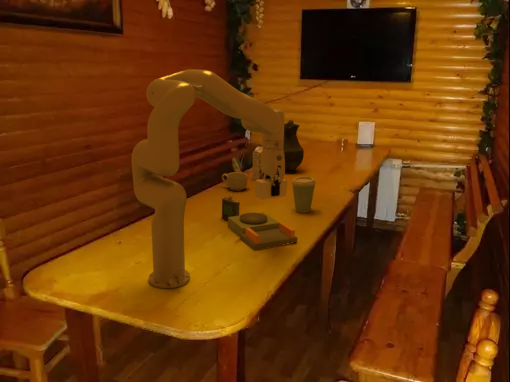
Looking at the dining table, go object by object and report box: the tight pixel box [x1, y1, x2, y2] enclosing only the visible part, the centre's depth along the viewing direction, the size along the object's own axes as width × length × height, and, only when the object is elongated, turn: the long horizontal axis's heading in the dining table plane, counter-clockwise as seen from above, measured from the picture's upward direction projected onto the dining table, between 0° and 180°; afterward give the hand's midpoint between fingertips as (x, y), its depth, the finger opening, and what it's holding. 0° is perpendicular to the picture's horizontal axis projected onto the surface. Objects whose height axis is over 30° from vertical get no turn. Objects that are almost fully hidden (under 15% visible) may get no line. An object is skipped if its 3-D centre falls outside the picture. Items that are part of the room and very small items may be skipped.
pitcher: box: [283, 119, 305, 174], centre depth 282 cm, size 17×21×30 cm
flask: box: [221, 195, 241, 222], centre depth 198 cm, size 9×3×11 cm, turn 50°
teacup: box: [221, 171, 249, 192], centre depth 245 cm, size 14×11×8 cm
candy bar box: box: [252, 147, 263, 182], centre depth 265 cm, size 11×5×16 cm, turn 155°
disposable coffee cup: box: [291, 175, 317, 214], centre depth 212 cm, size 11×11×15 cm
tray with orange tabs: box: [227, 211, 298, 251], centre depth 183 cm, size 26×18×5 cm
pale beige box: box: [255, 177, 288, 201], centre depth 172 cm, size 5×10×6 cm, turn 119°
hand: (271, 193), depth 172 cm, fingers closed on pale beige box, 5 cm apart
